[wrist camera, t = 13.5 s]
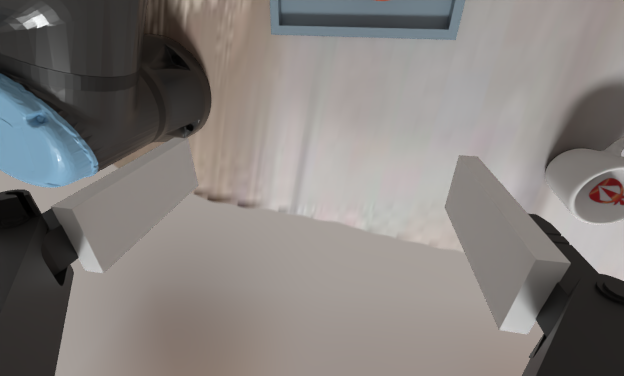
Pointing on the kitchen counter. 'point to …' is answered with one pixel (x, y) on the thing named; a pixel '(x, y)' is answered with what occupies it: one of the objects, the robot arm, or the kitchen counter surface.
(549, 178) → the cup
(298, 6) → the tray
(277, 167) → the kitchen counter surface
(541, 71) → the kitchen counter surface
